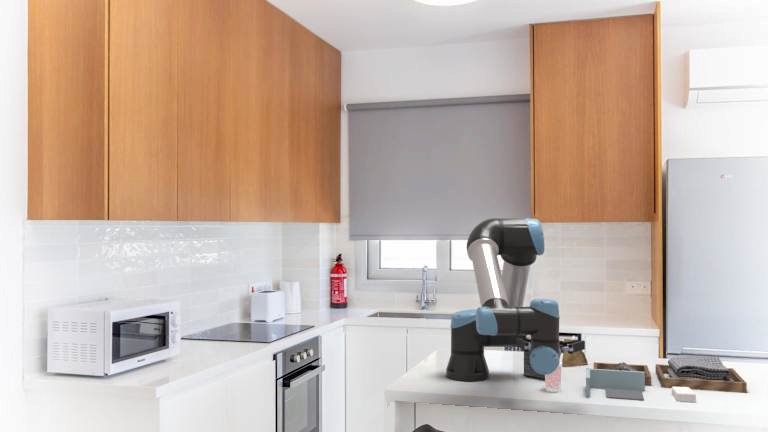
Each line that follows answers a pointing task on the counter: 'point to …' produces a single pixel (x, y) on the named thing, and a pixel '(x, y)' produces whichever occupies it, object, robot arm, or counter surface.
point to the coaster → (624, 394)
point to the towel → (698, 368)
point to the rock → (573, 358)
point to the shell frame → (638, 367)
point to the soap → (683, 394)
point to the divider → (614, 380)
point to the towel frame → (702, 381)
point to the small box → (530, 368)
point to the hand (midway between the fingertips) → (551, 339)
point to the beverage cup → (554, 380)
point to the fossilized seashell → (624, 367)
